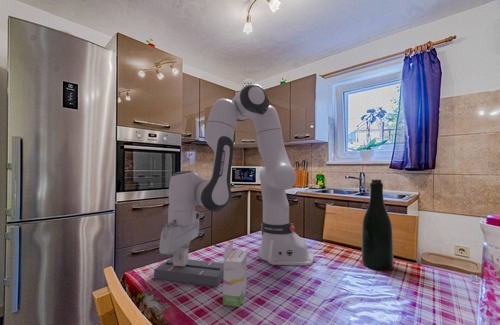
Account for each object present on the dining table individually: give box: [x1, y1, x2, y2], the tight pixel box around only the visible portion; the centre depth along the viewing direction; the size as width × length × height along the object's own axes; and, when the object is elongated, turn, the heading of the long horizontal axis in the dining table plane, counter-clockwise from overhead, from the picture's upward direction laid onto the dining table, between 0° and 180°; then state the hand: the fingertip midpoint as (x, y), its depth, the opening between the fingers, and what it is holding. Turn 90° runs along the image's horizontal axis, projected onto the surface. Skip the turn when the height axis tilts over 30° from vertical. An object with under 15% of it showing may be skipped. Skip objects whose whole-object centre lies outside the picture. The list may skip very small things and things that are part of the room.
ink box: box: [222, 240, 248, 308], centre depth 62 cm, size 9×5×15 cm, turn 168°
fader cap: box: [172, 247, 189, 267], centre depth 76 cm, size 4×3×6 cm
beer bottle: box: [361, 178, 394, 272], centre depth 85 cm, size 10×10×33 cm
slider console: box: [153, 257, 224, 288], centre depth 75 cm, size 22×10×3 cm, turn 78°
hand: (180, 257), depth 76 cm, fingers closed on fader cap, 3 cm apart
